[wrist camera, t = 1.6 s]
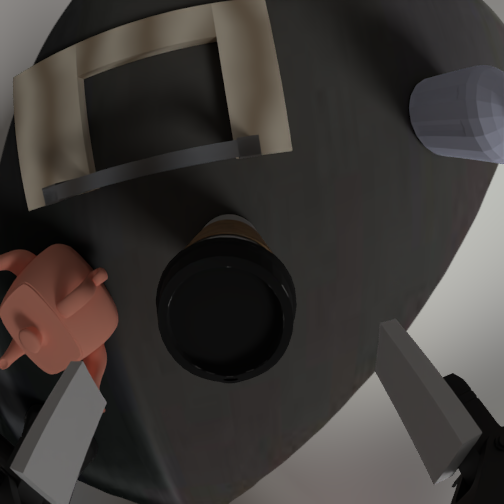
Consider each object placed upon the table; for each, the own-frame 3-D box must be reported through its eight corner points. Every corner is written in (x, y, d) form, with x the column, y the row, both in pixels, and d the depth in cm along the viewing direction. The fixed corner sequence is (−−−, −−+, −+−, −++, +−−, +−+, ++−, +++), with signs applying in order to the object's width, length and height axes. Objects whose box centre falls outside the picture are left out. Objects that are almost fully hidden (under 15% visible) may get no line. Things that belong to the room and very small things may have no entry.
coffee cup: (191, 285, 31) (163, 387, 16) (182, 204, 28) (131, 257, 14) (273, 280, 31) (301, 380, 17) (270, 198, 28) (307, 246, 14)
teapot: (130, 353, 33) (103, 418, 23) (37, 324, 32) (-5, 372, 21) (136, 242, 29) (90, 290, 18) (29, 219, 27) (-34, 250, 17)
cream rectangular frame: (36, 208, 27) (-5, 225, 20) (20, 79, 22) (-20, 71, 14) (289, 151, 27) (308, 150, 20) (262, 4, 22) (271, -35, 14)
